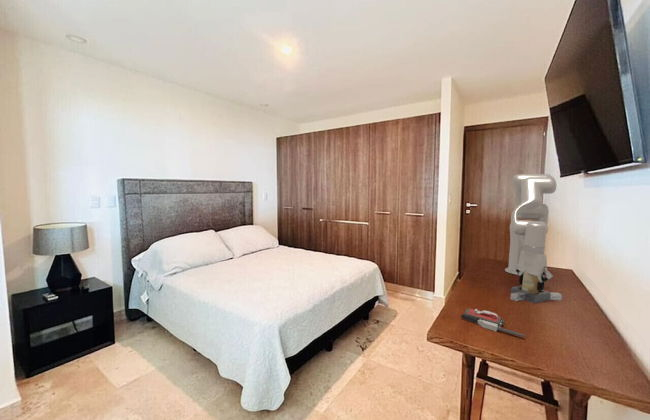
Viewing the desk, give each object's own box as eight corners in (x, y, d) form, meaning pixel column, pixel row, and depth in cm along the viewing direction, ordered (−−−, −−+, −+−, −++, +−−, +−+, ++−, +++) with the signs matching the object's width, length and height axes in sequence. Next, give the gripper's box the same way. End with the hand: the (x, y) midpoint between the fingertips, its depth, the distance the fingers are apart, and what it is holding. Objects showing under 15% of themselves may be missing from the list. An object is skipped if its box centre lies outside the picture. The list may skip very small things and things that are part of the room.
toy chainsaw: (458, 321, 103) (524, 341, 90) (459, 310, 103) (525, 328, 90) (465, 313, 110) (526, 331, 97) (465, 302, 109) (527, 319, 96)
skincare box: (520, 294, 128) (523, 268, 127) (522, 291, 131) (524, 266, 130) (538, 298, 123) (540, 271, 122) (539, 295, 126) (541, 269, 125)
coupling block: (533, 290, 136) (534, 283, 136) (563, 300, 124) (564, 292, 124) (501, 295, 128) (502, 288, 128) (530, 306, 116) (530, 298, 116)
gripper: (509, 246, 132) (506, 281, 134) (550, 254, 116) (546, 295, 117) (520, 245, 135) (517, 280, 136) (561, 253, 118) (557, 293, 120)
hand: (530, 286), depth 127 cm, fingers closed on skincare box, 7 cm apart
